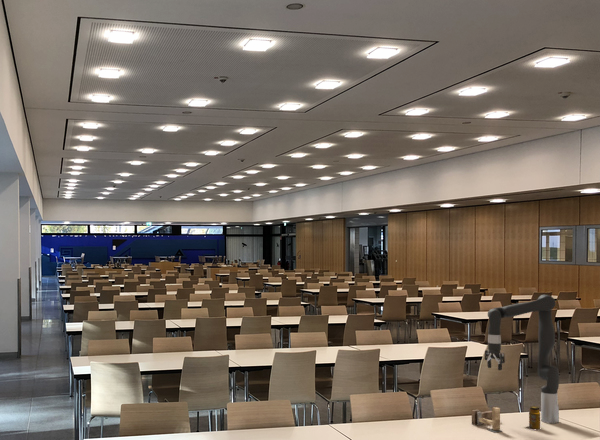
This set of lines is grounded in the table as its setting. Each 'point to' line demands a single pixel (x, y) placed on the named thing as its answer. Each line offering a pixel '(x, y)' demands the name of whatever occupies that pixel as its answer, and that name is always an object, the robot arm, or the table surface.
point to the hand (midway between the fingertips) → (494, 369)
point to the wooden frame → (494, 422)
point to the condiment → (534, 418)
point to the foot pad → (494, 430)
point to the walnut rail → (484, 415)
